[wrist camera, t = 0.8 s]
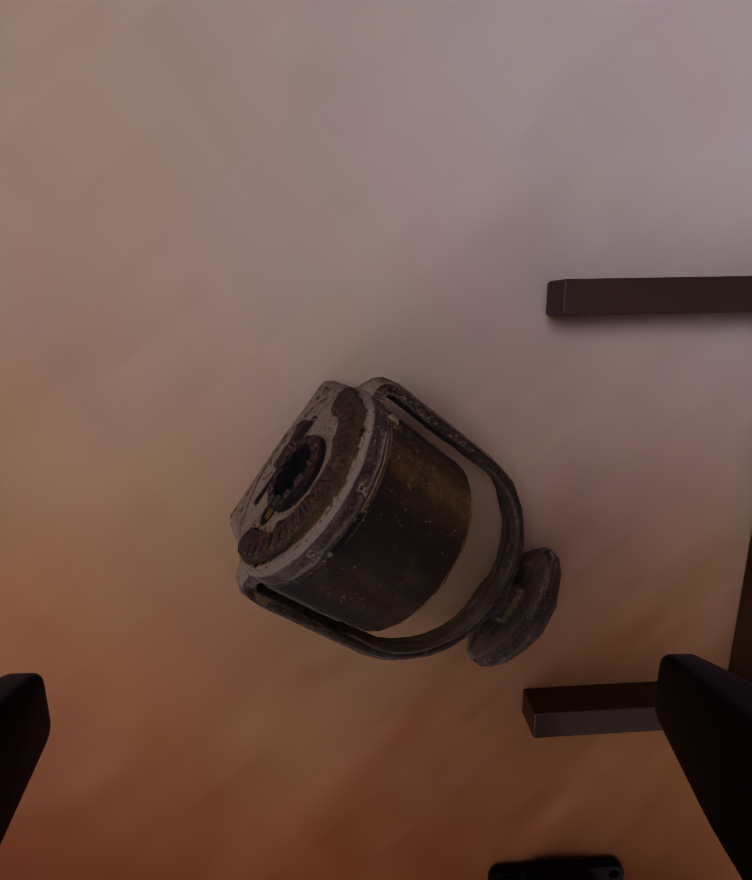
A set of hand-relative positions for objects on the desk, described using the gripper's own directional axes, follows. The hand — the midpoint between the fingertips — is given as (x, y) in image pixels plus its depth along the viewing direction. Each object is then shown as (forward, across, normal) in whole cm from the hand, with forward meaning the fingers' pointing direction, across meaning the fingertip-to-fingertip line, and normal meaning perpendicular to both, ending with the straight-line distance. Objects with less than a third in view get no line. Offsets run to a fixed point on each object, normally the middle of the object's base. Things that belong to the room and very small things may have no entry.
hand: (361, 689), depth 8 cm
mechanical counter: (+13, -2, +3) cm, 14 cm away
